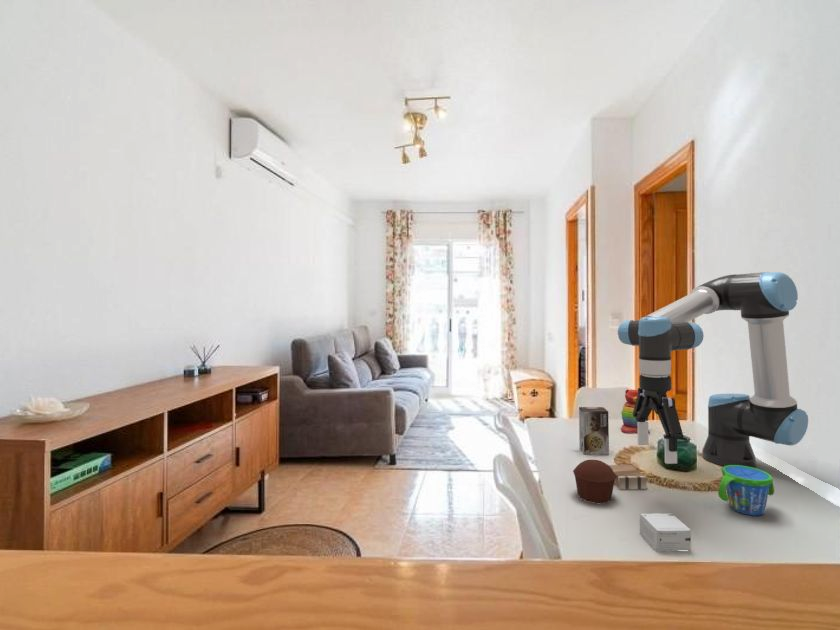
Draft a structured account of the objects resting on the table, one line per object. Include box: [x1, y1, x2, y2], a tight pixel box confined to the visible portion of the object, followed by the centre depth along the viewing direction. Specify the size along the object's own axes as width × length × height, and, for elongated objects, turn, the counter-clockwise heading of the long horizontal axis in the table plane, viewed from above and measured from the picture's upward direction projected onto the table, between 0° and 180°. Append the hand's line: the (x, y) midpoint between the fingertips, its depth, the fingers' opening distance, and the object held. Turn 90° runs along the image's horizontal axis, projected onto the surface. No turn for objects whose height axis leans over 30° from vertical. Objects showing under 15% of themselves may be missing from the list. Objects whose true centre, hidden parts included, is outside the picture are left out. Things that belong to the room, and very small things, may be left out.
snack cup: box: [717, 465, 775, 516], centre depth 113 cm, size 16×10×10 cm
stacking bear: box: [620, 389, 651, 435], centre depth 184 cm, size 11×10×18 cm
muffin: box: [572, 459, 617, 504], centre depth 122 cm, size 12×11×10 cm
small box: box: [639, 512, 692, 552], centre depth 99 cm, size 8×8×5 cm
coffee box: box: [578, 406, 610, 455], centre depth 159 cm, size 9×6×16 cm
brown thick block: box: [608, 464, 648, 490], centre depth 132 cm, size 4×8×10 cm
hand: (656, 453), depth 115 cm, fingers open, 13 cm apart
